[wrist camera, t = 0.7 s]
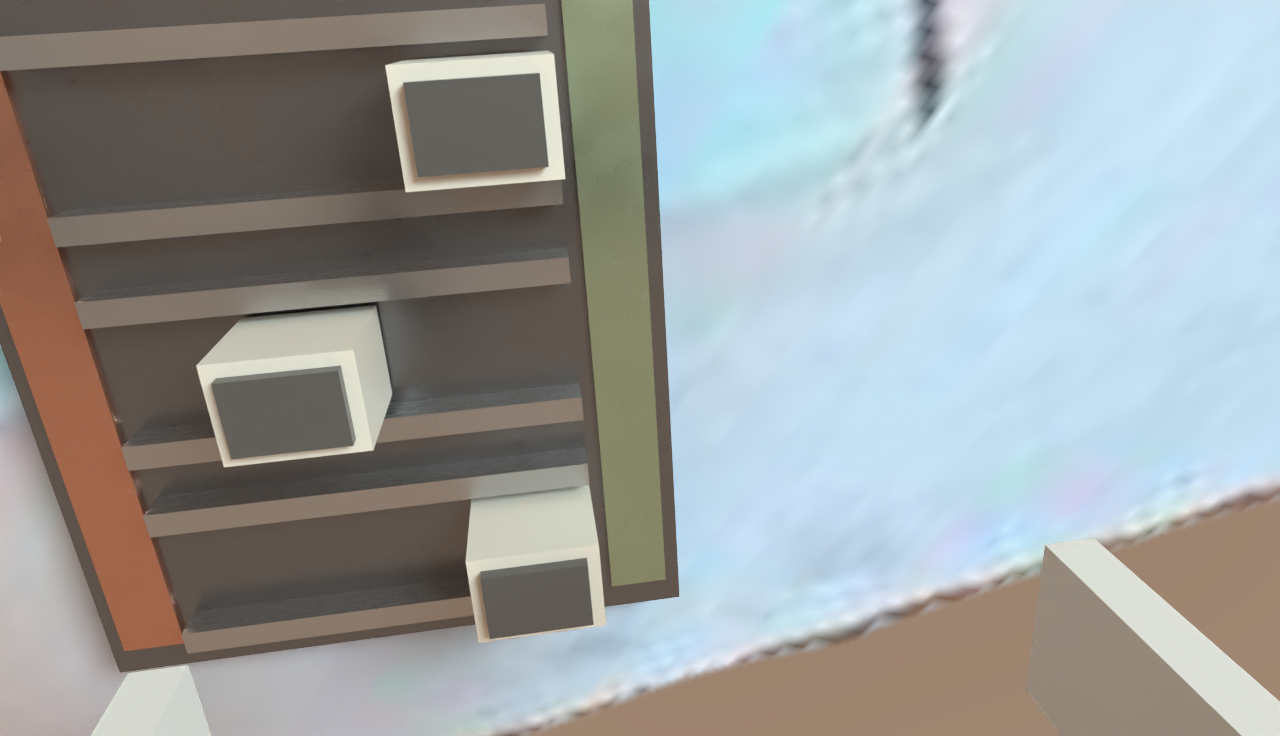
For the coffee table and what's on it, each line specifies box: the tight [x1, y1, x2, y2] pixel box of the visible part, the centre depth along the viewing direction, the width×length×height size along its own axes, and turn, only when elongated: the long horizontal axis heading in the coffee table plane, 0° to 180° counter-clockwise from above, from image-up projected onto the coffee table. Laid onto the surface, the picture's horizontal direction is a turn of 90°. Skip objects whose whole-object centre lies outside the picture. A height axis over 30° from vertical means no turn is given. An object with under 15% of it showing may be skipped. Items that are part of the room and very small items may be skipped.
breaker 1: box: [196, 305, 392, 467], centre depth 25 cm, size 4×3×4 cm
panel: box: [0, 0, 679, 672], centre depth 27 cm, size 20×22×3 cm
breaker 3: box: [466, 485, 606, 643], centre depth 28 cm, size 4×3×4 cm
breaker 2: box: [385, 50, 565, 192], centre depth 23 cm, size 4×3×4 cm
